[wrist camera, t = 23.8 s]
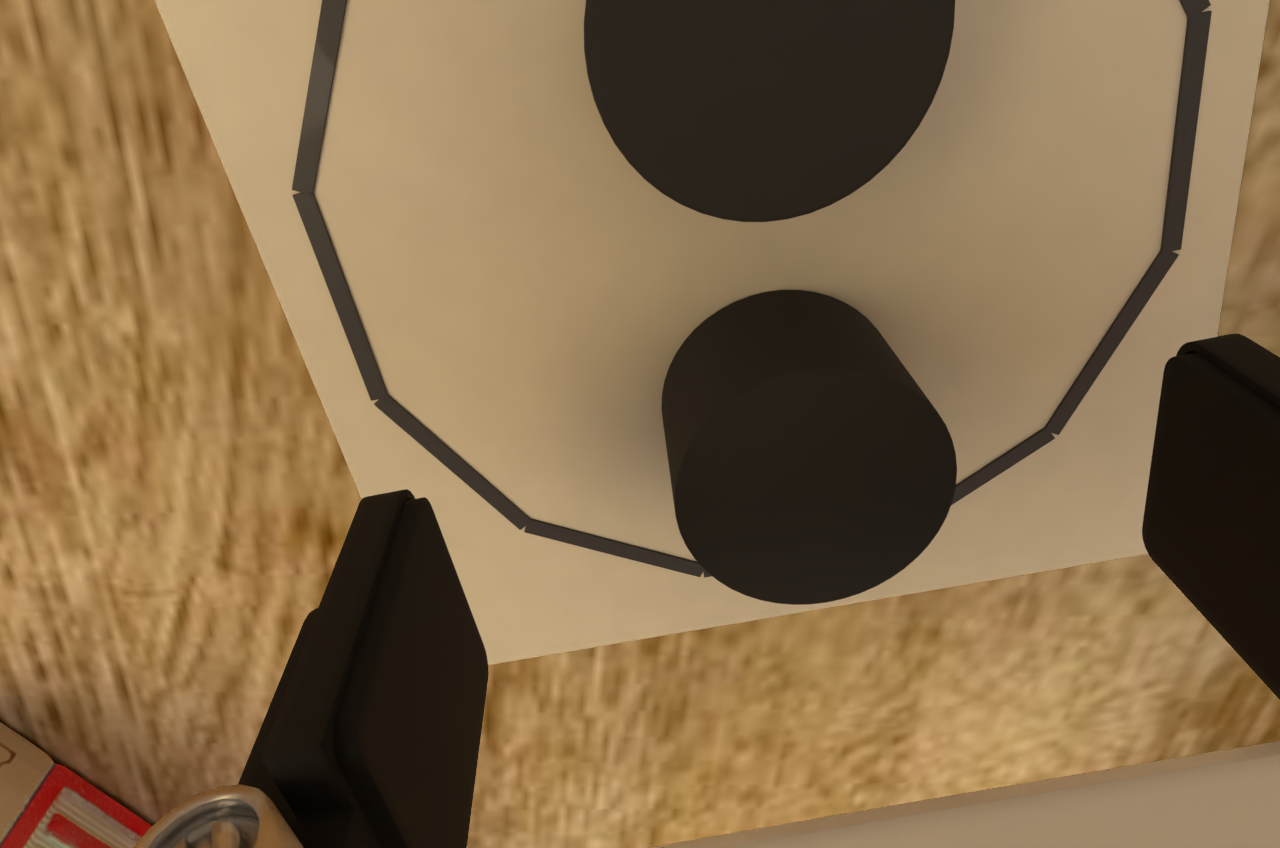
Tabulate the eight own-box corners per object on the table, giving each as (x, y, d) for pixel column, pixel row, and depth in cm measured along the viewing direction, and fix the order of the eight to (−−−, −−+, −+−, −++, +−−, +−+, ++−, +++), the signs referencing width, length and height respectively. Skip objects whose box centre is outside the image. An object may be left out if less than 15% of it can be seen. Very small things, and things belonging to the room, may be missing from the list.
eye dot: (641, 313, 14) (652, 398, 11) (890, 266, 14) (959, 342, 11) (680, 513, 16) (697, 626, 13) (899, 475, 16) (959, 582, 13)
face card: (27, -329, 10) (9, -340, 10) (1354, -647, 9) (1381, -667, 9) (436, 664, 18) (433, 677, 17) (1175, 539, 17) (1186, 550, 17)
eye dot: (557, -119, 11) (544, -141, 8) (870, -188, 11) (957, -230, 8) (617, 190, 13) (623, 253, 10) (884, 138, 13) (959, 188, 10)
